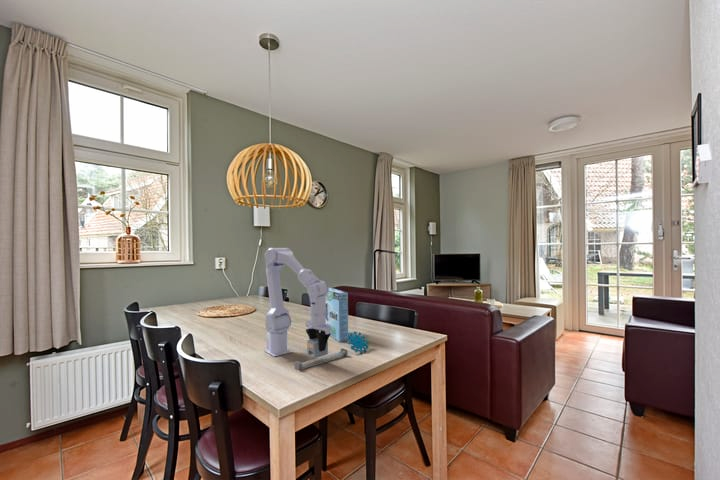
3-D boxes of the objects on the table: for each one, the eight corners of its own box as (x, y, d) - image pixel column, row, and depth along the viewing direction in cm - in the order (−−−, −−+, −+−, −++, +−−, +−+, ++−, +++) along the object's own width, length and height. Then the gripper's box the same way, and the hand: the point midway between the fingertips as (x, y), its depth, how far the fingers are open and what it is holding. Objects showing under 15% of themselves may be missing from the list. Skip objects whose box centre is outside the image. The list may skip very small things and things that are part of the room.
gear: (352, 352, 129) (345, 330, 135) (346, 359, 132) (339, 338, 138) (374, 351, 135) (366, 330, 141) (367, 358, 138) (360, 337, 144)
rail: (294, 368, 117) (294, 361, 117) (342, 354, 131) (342, 348, 131) (299, 370, 114) (299, 364, 114) (347, 356, 129) (347, 350, 129)
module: (307, 354, 121) (306, 340, 121) (320, 350, 125) (320, 336, 125) (314, 358, 117) (314, 343, 117) (327, 354, 121) (327, 339, 121)
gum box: (348, 340, 149) (348, 292, 149) (338, 342, 147) (338, 293, 147) (332, 330, 166) (332, 287, 167) (323, 332, 164) (323, 287, 164)
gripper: (299, 311, 124) (299, 346, 124) (320, 318, 114) (320, 356, 113) (314, 309, 129) (314, 342, 129) (335, 315, 118) (335, 351, 118)
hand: (318, 348), depth 121 cm, fingers closed on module, 5 cm apart
